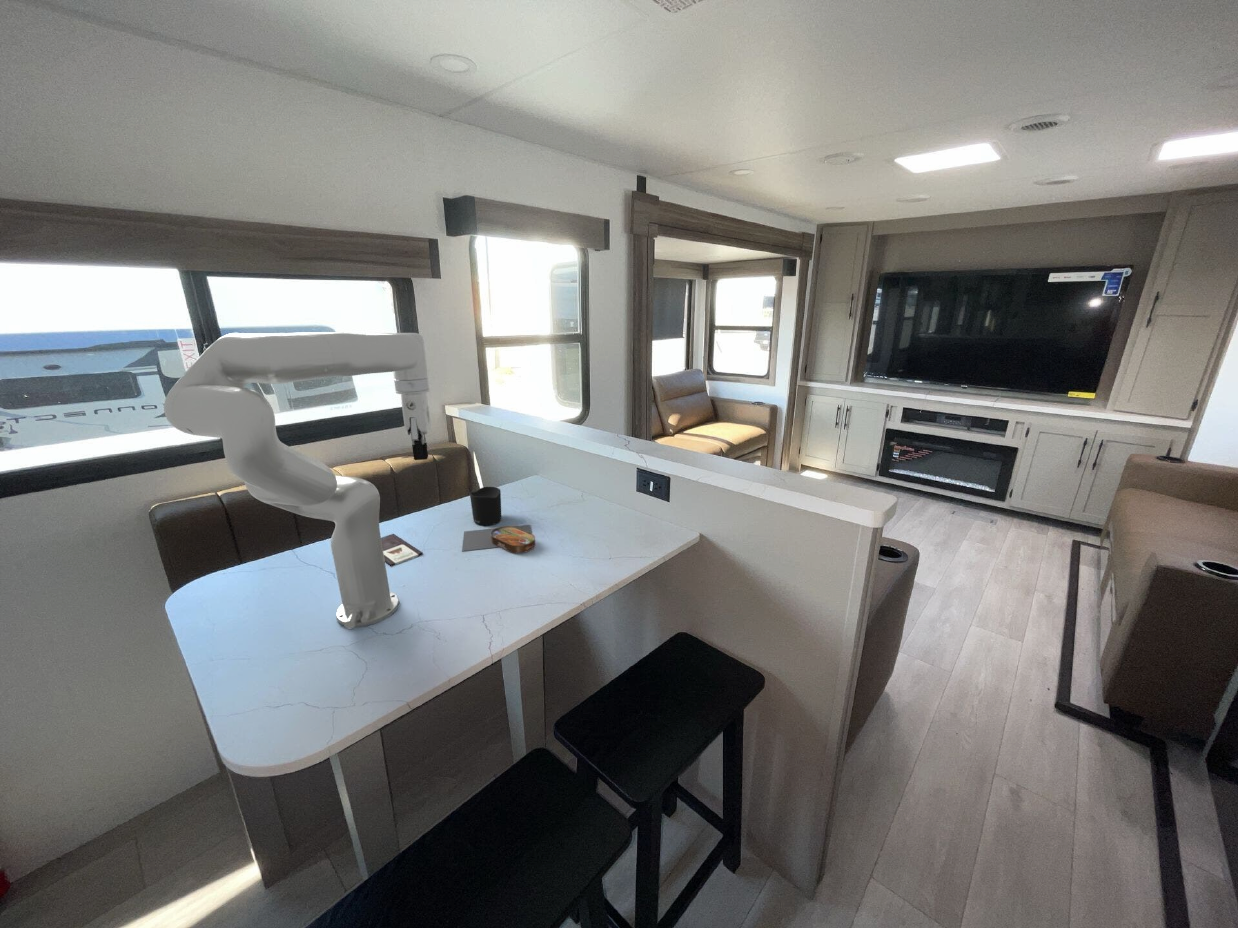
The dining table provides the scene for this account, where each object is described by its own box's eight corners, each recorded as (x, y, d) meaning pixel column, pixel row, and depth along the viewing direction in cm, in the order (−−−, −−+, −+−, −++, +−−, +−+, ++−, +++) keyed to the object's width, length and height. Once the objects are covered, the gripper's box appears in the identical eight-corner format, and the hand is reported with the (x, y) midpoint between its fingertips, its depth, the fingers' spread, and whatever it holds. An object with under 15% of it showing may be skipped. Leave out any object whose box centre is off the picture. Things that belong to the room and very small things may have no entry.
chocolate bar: (393, 533, 145) (422, 552, 134) (393, 536, 145) (423, 555, 134) (362, 543, 139) (390, 564, 127) (362, 546, 139) (390, 567, 128)
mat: (533, 543, 140) (533, 542, 140) (462, 551, 135) (461, 550, 135) (530, 525, 152) (530, 524, 152) (464, 532, 147) (464, 531, 147)
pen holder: (472, 516, 158) (469, 488, 155) (501, 513, 161) (499, 485, 158) (473, 528, 150) (470, 498, 147) (503, 524, 153) (501, 495, 150)
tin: (484, 532, 140) (507, 521, 146) (485, 542, 141) (508, 530, 147) (517, 548, 131) (540, 535, 137) (519, 558, 132) (542, 545, 138)
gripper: (424, 390, 110) (433, 466, 115) (432, 381, 123) (439, 450, 129) (389, 391, 108) (400, 469, 113) (400, 382, 122) (409, 451, 127)
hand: (421, 458), depth 121 cm, fingers closed
